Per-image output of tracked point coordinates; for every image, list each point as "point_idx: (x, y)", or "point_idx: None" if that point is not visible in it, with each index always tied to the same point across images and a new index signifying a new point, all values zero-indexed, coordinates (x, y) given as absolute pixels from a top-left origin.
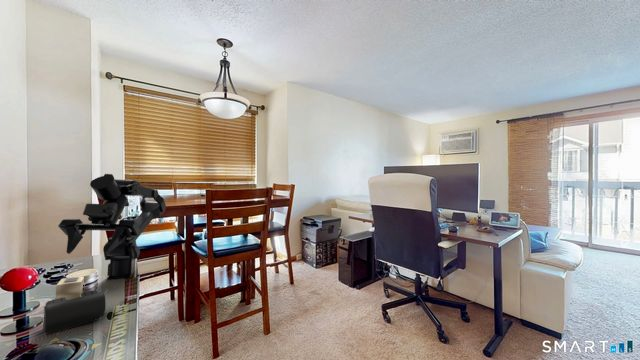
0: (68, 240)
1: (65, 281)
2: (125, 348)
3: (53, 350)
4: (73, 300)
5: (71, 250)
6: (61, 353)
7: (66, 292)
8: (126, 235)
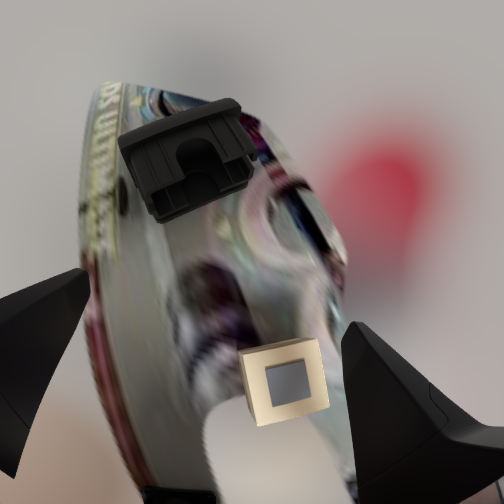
0: (427, 384)
1: (302, 365)
2: (100, 89)
3: (194, 104)
4: (185, 115)
5: (348, 357)
6: (180, 95)
7: (278, 344)
8: None
